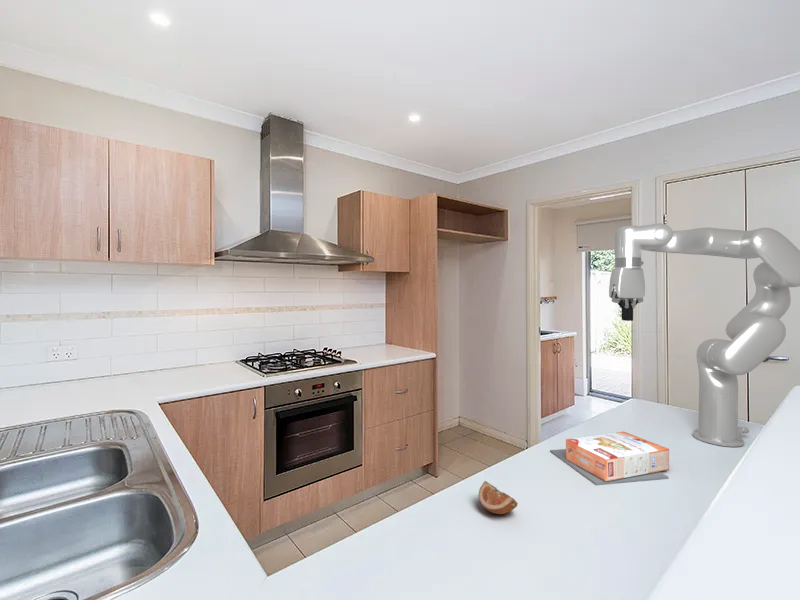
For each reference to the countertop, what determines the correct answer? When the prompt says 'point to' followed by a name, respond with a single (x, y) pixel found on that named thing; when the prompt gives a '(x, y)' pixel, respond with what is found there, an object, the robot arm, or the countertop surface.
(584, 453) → the cracker box
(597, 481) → the mat
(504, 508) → the fruit slice
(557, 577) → the countertop surface
